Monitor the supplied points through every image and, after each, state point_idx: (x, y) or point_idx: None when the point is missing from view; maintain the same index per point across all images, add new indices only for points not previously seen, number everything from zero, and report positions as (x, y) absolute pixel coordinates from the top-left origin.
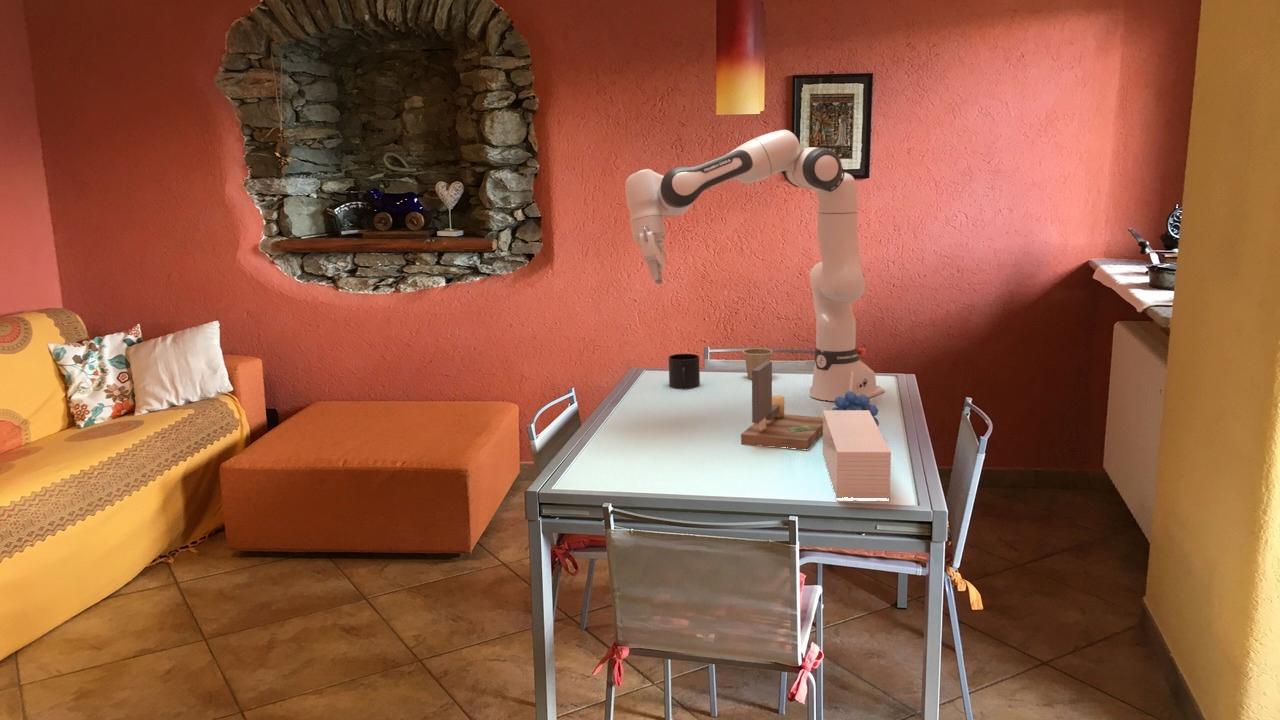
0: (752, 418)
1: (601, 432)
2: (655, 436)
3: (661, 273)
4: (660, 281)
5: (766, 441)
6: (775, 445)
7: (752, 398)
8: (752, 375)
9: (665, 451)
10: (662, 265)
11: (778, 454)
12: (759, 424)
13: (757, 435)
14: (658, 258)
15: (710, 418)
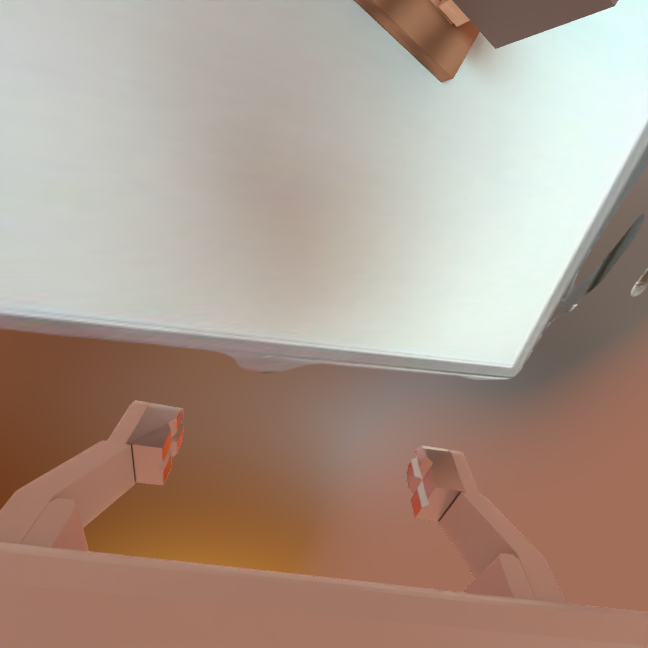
0: (503, 45)
1: (313, 337)
2: (355, 247)
3: (83, 475)
4: (176, 424)
5: None
6: None
7: (541, 31)
8: (599, 9)
9: (436, 235)
10: (59, 553)
11: None
12: (465, 21)
13: (472, 40)
14: (538, 624)
15: (244, 108)
